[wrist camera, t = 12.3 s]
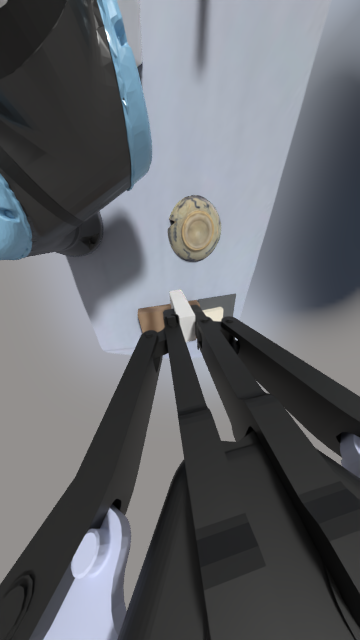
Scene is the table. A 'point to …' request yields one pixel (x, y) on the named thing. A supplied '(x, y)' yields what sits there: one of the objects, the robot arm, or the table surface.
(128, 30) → the jar
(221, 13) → the table surface
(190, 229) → the decorative bowl
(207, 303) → the mat
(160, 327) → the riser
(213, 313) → the tile
